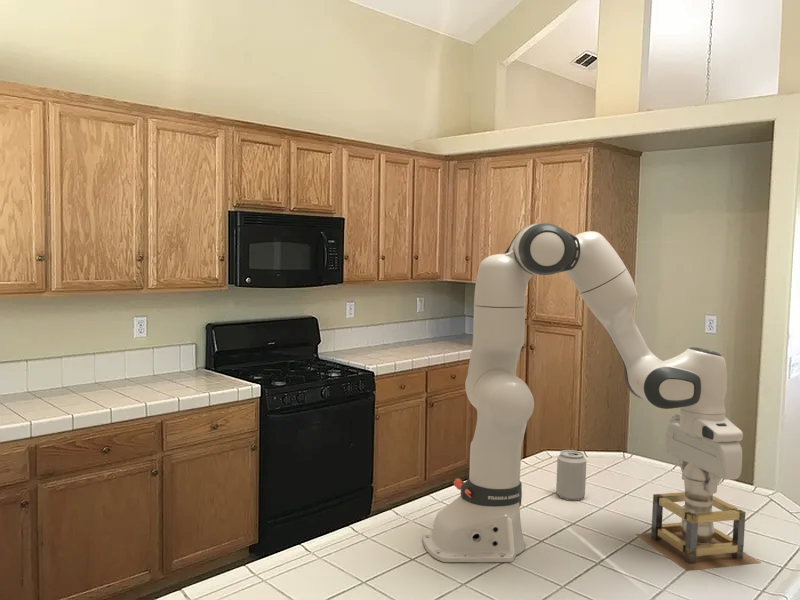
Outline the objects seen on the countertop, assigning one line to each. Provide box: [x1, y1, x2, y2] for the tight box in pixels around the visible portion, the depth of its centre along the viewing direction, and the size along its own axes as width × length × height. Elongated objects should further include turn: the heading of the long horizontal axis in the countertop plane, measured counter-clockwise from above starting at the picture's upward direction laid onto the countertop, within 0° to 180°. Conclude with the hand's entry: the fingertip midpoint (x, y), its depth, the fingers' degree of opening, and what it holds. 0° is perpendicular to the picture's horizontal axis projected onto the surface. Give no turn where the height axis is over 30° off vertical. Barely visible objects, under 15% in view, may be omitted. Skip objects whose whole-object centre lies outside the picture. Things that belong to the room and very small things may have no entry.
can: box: [555, 449, 587, 501], centre depth 178 cm, size 8×8×12 cm
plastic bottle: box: [680, 462, 715, 543], centre depth 144 cm, size 6×7×20 cm
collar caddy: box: [650, 491, 746, 564], centre depth 145 cm, size 13×13×10 cm
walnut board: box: [634, 532, 762, 572], centre depth 145 cm, size 18×18×1 cm
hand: (698, 486), depth 144 cm, fingers closed on plastic bottle, 6 cm apart
